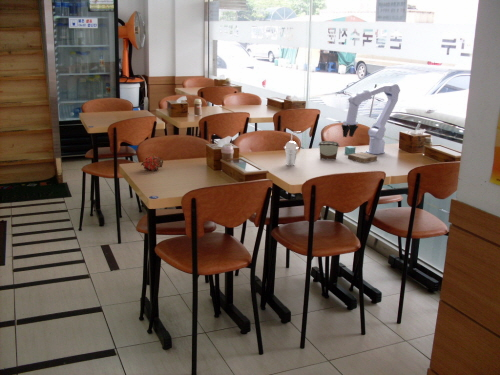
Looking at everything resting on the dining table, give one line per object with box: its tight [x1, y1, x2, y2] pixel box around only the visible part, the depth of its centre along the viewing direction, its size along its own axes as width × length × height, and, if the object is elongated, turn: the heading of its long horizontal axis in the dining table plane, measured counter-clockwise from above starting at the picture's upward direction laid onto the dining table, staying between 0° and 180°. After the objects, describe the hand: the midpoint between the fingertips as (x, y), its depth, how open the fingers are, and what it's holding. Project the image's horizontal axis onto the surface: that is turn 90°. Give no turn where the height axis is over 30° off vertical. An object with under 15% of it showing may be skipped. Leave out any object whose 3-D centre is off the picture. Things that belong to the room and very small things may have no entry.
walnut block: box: [347, 151, 378, 164], centre depth 323 cm, size 12×12×3 cm
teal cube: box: [344, 145, 357, 155], centre depth 336 cm, size 4×4×4 cm
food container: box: [318, 140, 340, 161], centre depth 323 cm, size 12×6×10 cm, turn 84°
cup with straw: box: [283, 130, 302, 166], centre depth 303 cm, size 8×9×20 cm
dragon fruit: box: [140, 155, 164, 172], centre depth 288 cm, size 8×8×12 cm
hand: (347, 136), depth 331 cm, fingers open, 7 cm apart
